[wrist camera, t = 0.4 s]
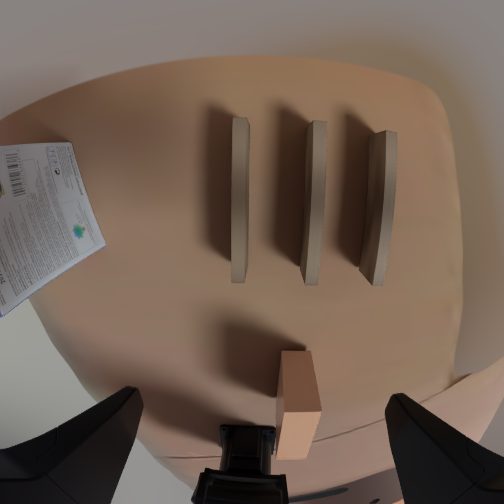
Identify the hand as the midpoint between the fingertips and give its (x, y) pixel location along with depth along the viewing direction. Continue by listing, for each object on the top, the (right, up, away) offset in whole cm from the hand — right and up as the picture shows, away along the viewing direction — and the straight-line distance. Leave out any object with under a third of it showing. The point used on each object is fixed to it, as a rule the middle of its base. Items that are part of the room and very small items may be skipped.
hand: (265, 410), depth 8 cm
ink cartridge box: (-16, +9, +11) cm, 22 cm away
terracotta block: (+3, -7, +15) cm, 17 cm away
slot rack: (+3, +9, +10) cm, 14 cm away
